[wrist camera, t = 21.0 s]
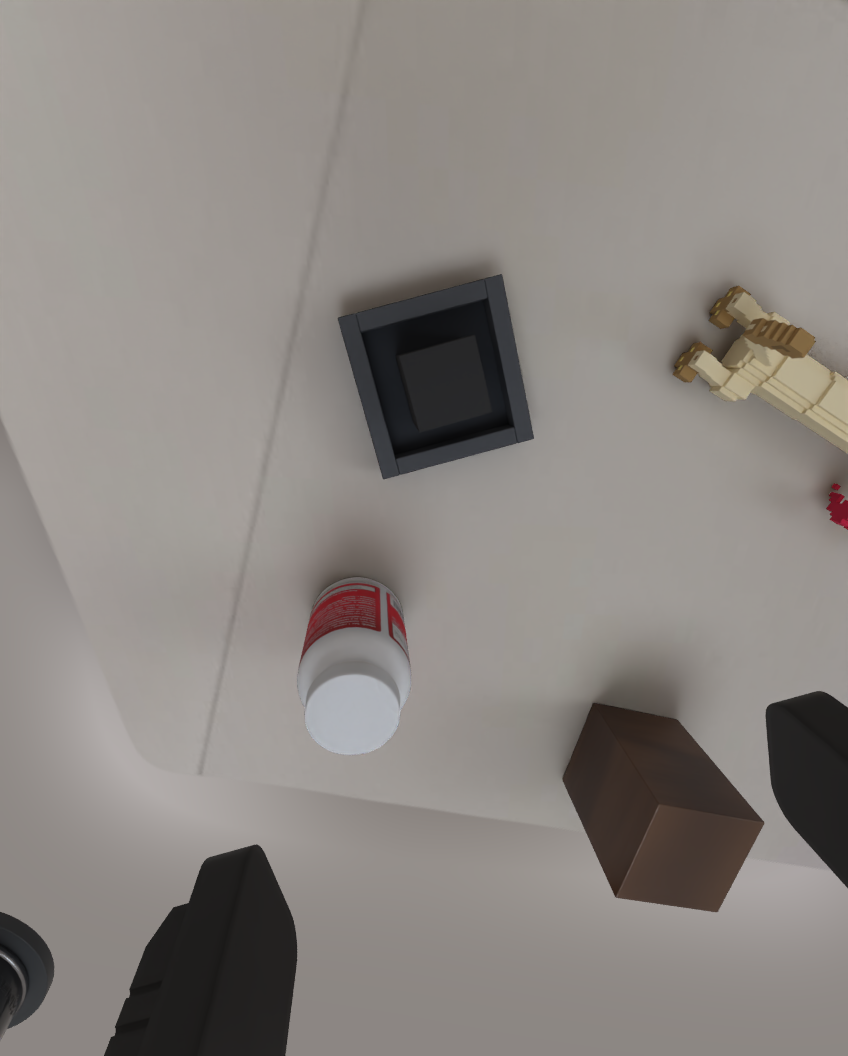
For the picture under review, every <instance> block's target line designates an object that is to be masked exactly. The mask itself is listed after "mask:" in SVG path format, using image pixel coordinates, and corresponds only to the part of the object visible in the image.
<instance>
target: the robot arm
mask: <svg viewBox="0 0 848 1056" xmlns="http://www.w3.org/2000/svg"><path fill="white" fill-rule="evenodd" d="M766 727H767V740H768V752H769V764H770V776H771V785H772V789H773V792H774V795H775V798H776V800H777V802H778V804H779V806H780V808H781V810H782V812H783V814H784V815H785V817H786V818H787V820H788V821H789V823H790V824H791V825H792V826H793V828H794V829H795V830H796V831H797V832H798V833H799V834H800V836H801V837H802V838H803V839H804V840H805V841H806V842H807V843H808V844H809V846H810V847H811V848H812V849H813V850H814V851H815V852H816V853H817V854H818V856H819V857H820V858H821V859H822V860H823V861H824V862H825V863H826V864H827V866H828V867H829V868H830V869H831V870H832V871H833V872H834V873H835V874H836V876H837V877H838V878H839V879H840V880H841V881H842V882H843V883H844V884H845V886H846V887H847V888H848V708H847V707H846V706H845V705H843V704H842V703H841V702H839V701H838V700H836V699H835V698H834V697H832V696H831V695H829V694H827V693H825V692H821V691H816V692H812V693H809V694H805V695H801V696H798V697H794V698H791V699H787V700H783V701H780V702H776V703H772V704H770V705H769V706H768V707H767V709H766ZM296 963H297V940H296V931H295V925H294V921H293V917H292V915H291V912H290V910H289V908H288V905H287V903H286V901H285V898H284V896H283V894H282V891H281V889H280V887H279V885H278V882H277V880H276V878H275V876H274V873H273V871H272V869H271V866H270V864H269V862H268V860H267V857H266V855H265V853H264V851H263V850H262V848H261V847H260V846H259V845H252V846H248V847H245V848H241V849H238V850H234V851H231V852H227V853H223V854H220V855H216V856H213V857H209V858H207V859H206V860H205V861H204V863H203V864H202V866H201V869H200V871H199V874H198V877H197V880H196V883H195V886H194V889H193V892H192V895H191V898H190V901H189V903H188V904H184V905H180V906H177V907H174V908H173V909H172V910H171V912H170V913H169V914H168V916H167V917H166V919H165V920H164V922H163V923H162V924H161V926H160V927H159V929H158V930H157V932H156V933H155V934H154V936H153V937H152V939H151V940H150V942H149V943H148V945H147V946H146V948H145V951H144V953H143V956H142V959H141V961H140V964H139V966H138V969H137V972H136V974H135V976H134V979H133V982H132V984H131V987H130V997H129V998H126V1000H125V1002H124V1005H123V1008H122V1011H121V1013H120V1015H119V1018H118V1021H117V1023H116V1026H115V1028H116V1033H115V1036H113V1037H111V1039H110V1041H109V1044H108V1047H107V1049H106V1052H105V1055H104V1056H285V1053H286V1045H287V1037H288V1029H289V1021H290V1013H291V1005H292V997H293V989H294V981H295V973H296V965H297V964H296ZM28 989H29V976H28V973H27V970H26V968H25V966H24V964H23V963H22V961H21V960H20V959H19V957H18V956H17V955H16V954H15V953H13V952H12V951H11V950H10V949H8V948H7V947H6V946H4V945H2V944H1V943H0V1040H1V1039H2V1037H3V1035H4V1033H5V1031H6V1029H7V1028H8V1026H9V1024H10V1022H11V1020H12V1018H13V1017H14V1015H15V1014H16V1013H17V1011H18V1010H19V1008H20V1007H21V1005H22V1003H23V1001H24V999H25V998H26V995H27V993H28Z"/></svg>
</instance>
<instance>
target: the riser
mask: <svg viewBox="0 0 848 1056" xmlns="http://www.w3.org/2000/svg"><path fill="white" fill-rule="evenodd" d="M563 782H564V785H565V787H566V789H567V791H568V793H569V796H570V798H571V800H572V802H573V804H574V807H575V809H576V811H577V813H578V815H579V818H580V820H581V822H582V824H583V827H584V829H585V831H586V833H587V835H588V838H589V840H590V842H591V844H592V846H593V849H594V851H595V853H596V855H597V857H598V860H599V862H600V864H601V866H602V868H603V871H604V873H605V875H606V877H607V880H608V882H609V884H610V886H611V888H612V890H613V893H614V895H615V897H616V898H622V899H629V900H635V901H642V902H649V903H657V904H663V905H670V906H677V907H684V908H691V909H698V910H705V911H711V912H718V910H719V908H720V906H721V905H722V903H723V901H724V899H725V897H726V895H727V893H728V891H729V889H730V888H731V886H732V884H733V882H734V880H735V878H736V876H737V874H738V872H739V870H740V869H741V867H742V865H743V863H744V861H745V859H746V857H747V855H748V853H749V852H750V850H751V848H752V846H753V844H754V842H755V840H756V838H757V836H758V834H759V833H760V831H761V829H762V827H763V825H764V821H763V820H762V819H761V818H760V817H759V815H758V814H757V813H756V812H755V811H754V810H753V808H752V807H751V806H750V805H749V804H748V802H747V801H746V800H745V799H744V798H743V797H742V795H741V794H740V793H739V792H738V791H737V789H736V788H735V787H734V786H733V785H732V784H731V782H730V781H729V780H728V779H727V778H726V776H725V775H724V774H723V773H722V772H721V771H720V769H719V768H718V767H717V766H716V765H715V763H714V762H713V761H712V760H711V759H710V758H709V756H708V755H707V754H706V753H705V752H704V751H703V749H702V748H701V747H700V746H699V745H698V743H697V742H696V741H695V740H694V739H693V738H692V736H691V735H690V734H689V733H688V732H687V730H686V729H685V728H684V727H683V726H682V725H681V723H680V722H679V721H678V720H676V719H671V718H666V717H661V716H657V715H652V714H647V713H642V712H637V711H632V710H627V709H622V708H617V707H612V706H607V705H602V704H598V703H593V705H592V708H591V710H590V713H589V715H588V718H587V720H586V723H585V725H584V728H583V730H582V733H581V735H580V738H579V740H578V742H577V745H576V747H575V750H574V752H573V755H572V757H571V760H570V762H569V765H568V767H567V770H566V772H565V775H564V777H563Z"/></svg>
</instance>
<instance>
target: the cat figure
mask: <svg viewBox="0 0 848 1056" xmlns="http://www.w3.org/2000/svg"><path fill="white" fill-rule="evenodd" d="M750 295H751V294H750V293H749V292H747V291H746V290H744V289H743V288H741V287H740V286H736V287H733V288H730V289H729V291H728V292H727V294H726V295H725V297H724V298H721V299H718V301H717V302H716V304H715V305H714V307H713V308H712V310H711V311H710V313H711V314H712V316H711V318H710V319H709V321H710V322H711V323H713V324H714V325H716V326H717V327H719V328H720V329H722V328H728V327H729V326H730V324H731V323H732V321H733V320H734V319H735V318H736V319H737V321H736V322H738V323H739V324H741V325H742V326H744V327H745V328H746V331H745V332H744V333H743V335H741V337H740V338H739V339H736V340H735V342H734V343H733V345H732V346H731V348H730V349H729V351H728V352H727V354H726V355H725V357H724V358H723V359H722V361H721V362H722V364H721V363H720V362H718V361H717V358H715V357H714V356H712V355H711V352H712V351H713V350H711V349H710V348H708V347H707V346H705V345H704V344H702V343H701V342H699V343H693V345H692V346H691V348H690V349H689V351H688V352H686V353H682V355H681V356H680V358H679V359H678V361H677V362H676V364H675V365H674V366H675V367H676V368H677V369H676V370H675V371H674V373H673V374H672V375H674V376H676V377H677V378H679V379H680V380H682V381H683V382H692V380H693V379H694V377H695V376H696V374H697V373H698V374H699V376H700V377H701V378H703V379H704V380H706V381H707V382H709V383H708V384H709V385H710V387H711V389H710V390H709V391H710V392H712V393H713V394H715V395H716V396H718V397H719V398H721V399H722V400H724V401H734V402H735V401H736V400H746V398H747V397H748V395H749V394H750V393H752V394H756V395H757V396H759V397H760V398H762V399H763V400H765V401H766V402H768V403H769V404H771V405H772V406H774V407H775V408H777V409H778V410H780V411H781V412H783V413H784V414H786V415H787V416H789V417H790V418H792V419H793V420H797V421H799V422H800V423H802V424H803V425H805V426H806V427H808V428H809V429H811V430H812V431H814V432H815V433H817V434H818V435H820V436H821V437H823V438H824V439H826V440H827V441H829V442H830V443H832V444H833V445H835V446H836V447H838V448H839V449H841V450H842V451H844V452H845V453H847V454H848V380H847V379H845V378H844V377H843V376H841V375H840V374H838V373H837V372H831V371H830V370H828V369H827V368H826V367H824V366H823V365H821V364H820V363H818V362H817V361H816V360H814V359H813V358H811V357H810V356H808V355H807V353H808V352H809V350H810V349H811V347H812V346H813V345H814V343H815V342H816V341H815V340H814V339H815V337H814V336H812V335H811V334H809V333H808V332H807V331H805V330H804V329H802V328H796V327H795V326H793V325H790V322H788V321H787V320H785V319H784V318H783V317H781V316H780V315H778V314H777V313H775V312H771V313H765V312H764V311H762V310H761V308H762V307H761V306H759V305H758V304H756V300H755V299H753V298H752V297H751V296H750ZM840 487H841V486H839V485H838V484H835V483H834V484H833V486H832V488H833V489H835V490H838V489H839V488H840ZM829 496H830V497H831V498H830V499H829V501H831V503H830V504H829V506H828V507H827V508H826V509H827V510H829V511H831V513H830V515H831V516H832V517H831V519H830V520H832V521H833V522H835V523H836V524H839V525H842V526H844V528H846V529H847V530H848V501H847V500H845V501H844V502H843V503H842V504H841V503H840V502H841V501H842V499H843V498H844V497H845V496H843V495H842V494H838V493H834V492H831V493H830V494H829Z"/></svg>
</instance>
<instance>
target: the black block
mask: <svg viewBox="0 0 848 1056" xmlns="http://www.w3.org/2000/svg"><path fill="white" fill-rule="evenodd" d="M396 361H397V365H398V368H399V372H400V376H401V380H402V383H403V387H404V391H405V394H406V398H407V402H408V406H409V409H410V413H411V417H412V421H413V423H414V425H415V426H416V428H417V429H418V431H419V432H423V431H427V430H431V429H434V428H438V427H441V426H445V425H448V424H452V423H456V422H459V421H463V420H466V419H470V418H473V417H477V416H481V415H484V414H488V413H491V412H492V408H491V404H490V399H489V395H488V390H487V386H486V381H485V377H484V372H483V368H482V363H481V359H480V355H479V350H478V346H477V341H476V337H475V335H471V336H466V337H462V338H458V339H455V340H451V341H448V342H444V343H440V344H437V345H433V346H430V347H426V348H423V349H419V350H415V351H412V352H408V353H405V354H401V355H397V356H396Z"/></svg>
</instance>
